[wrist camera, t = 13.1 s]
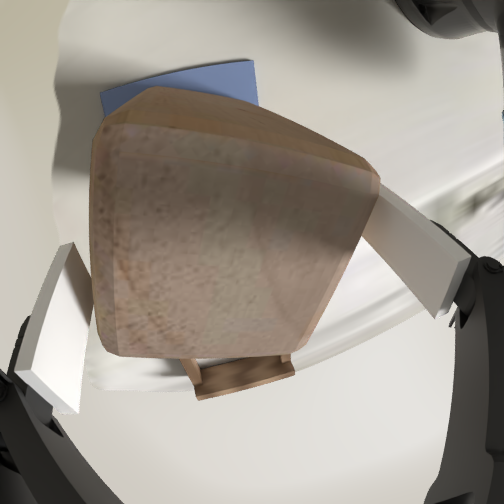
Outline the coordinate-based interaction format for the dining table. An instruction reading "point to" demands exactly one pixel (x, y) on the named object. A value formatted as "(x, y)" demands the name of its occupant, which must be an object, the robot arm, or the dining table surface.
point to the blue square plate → (193, 84)
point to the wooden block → (217, 226)
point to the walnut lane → (237, 374)
